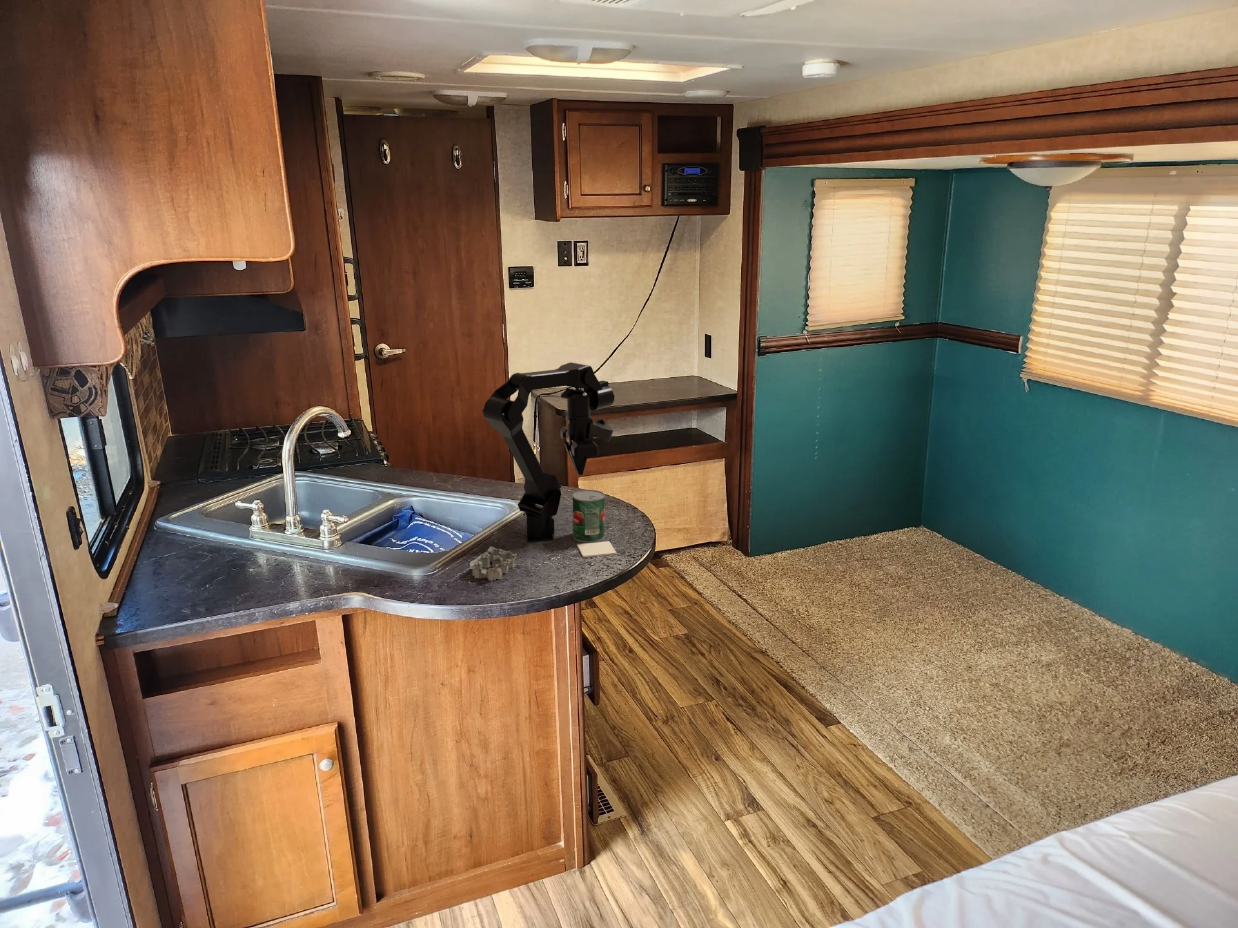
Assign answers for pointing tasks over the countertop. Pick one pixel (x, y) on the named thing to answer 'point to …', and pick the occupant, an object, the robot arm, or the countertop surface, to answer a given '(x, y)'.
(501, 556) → the egg carton
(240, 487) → the countertop surface
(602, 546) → the mat
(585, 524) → the canned tomato
